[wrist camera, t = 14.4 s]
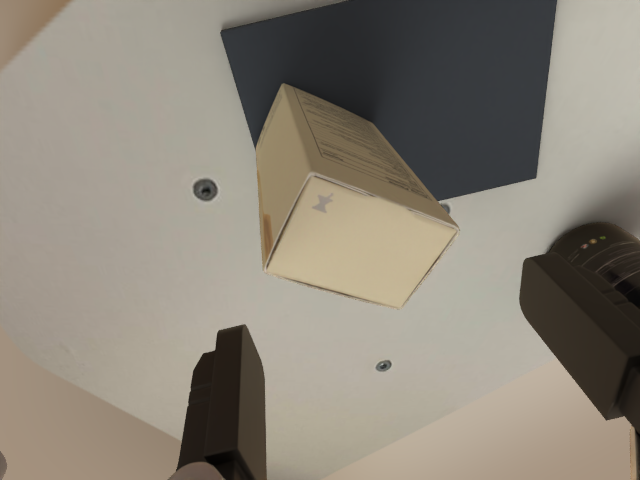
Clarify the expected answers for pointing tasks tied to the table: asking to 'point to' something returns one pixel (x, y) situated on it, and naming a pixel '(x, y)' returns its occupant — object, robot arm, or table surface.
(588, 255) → the supplement bottle
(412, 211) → the cosmetic box
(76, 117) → the table surface
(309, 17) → the mat
